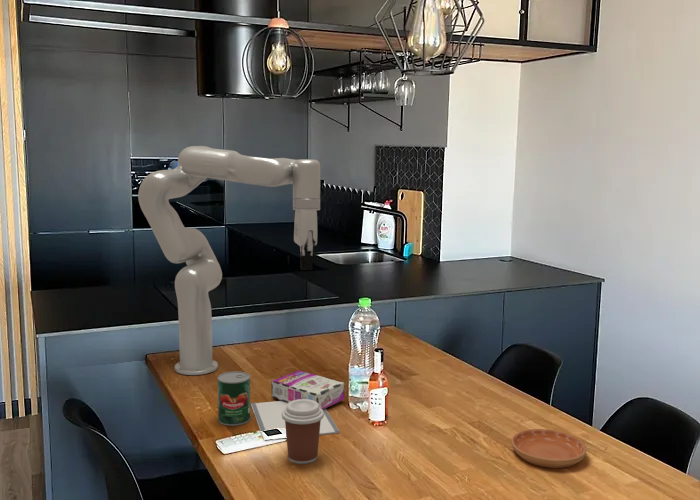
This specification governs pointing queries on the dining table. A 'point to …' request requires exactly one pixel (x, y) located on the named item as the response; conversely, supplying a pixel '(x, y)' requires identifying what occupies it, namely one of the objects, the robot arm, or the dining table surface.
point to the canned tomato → (234, 398)
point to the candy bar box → (308, 388)
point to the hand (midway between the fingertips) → (306, 269)
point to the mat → (271, 418)
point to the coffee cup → (302, 430)
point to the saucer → (548, 448)
